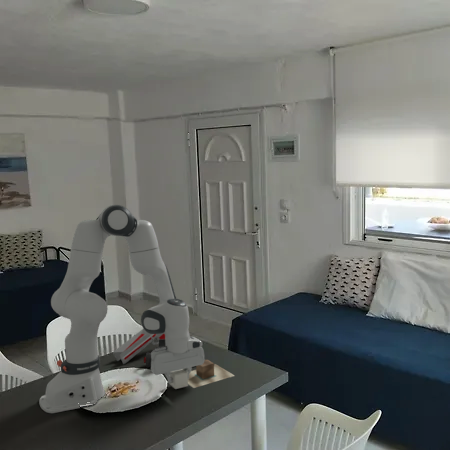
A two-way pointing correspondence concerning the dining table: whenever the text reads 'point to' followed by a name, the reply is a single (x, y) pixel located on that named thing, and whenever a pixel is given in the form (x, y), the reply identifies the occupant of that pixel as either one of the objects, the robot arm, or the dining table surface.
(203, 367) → the walnut block
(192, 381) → the beige rectangular board
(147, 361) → the laser sight
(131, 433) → the dining table surface
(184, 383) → the cream block
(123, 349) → the toy gun
